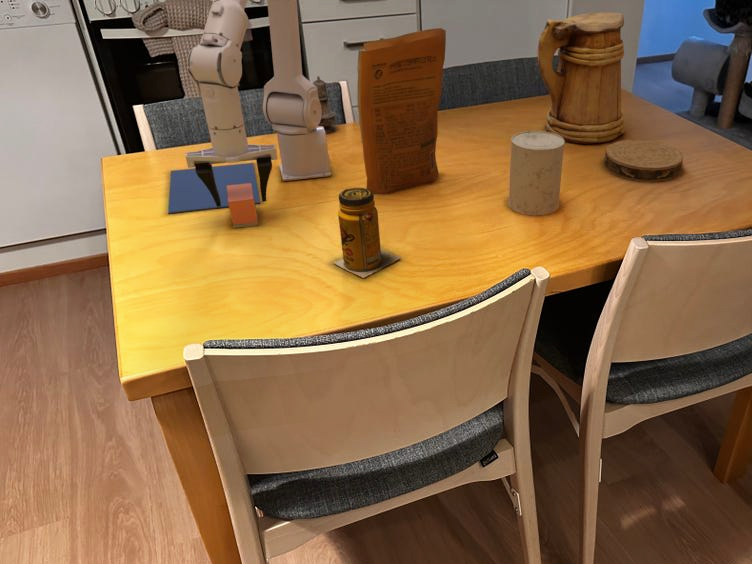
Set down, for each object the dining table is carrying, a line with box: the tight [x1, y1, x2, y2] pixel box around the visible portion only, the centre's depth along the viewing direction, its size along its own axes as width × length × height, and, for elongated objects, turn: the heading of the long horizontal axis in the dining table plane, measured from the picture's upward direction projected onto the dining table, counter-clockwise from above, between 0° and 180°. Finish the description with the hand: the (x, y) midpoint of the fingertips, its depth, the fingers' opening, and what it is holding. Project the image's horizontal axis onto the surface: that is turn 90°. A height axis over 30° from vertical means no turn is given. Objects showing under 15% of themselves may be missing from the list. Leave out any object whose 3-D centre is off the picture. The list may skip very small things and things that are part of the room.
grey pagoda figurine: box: [312, 75, 337, 134], centre depth 158 cm, size 6×6×12 cm
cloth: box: [167, 162, 261, 215], centre depth 134 cm, size 16×20×1 cm
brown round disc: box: [603, 139, 684, 183], centre depth 146 cm, size 16×16×3 cm
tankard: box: [537, 11, 626, 145], centre depth 155 cm, size 18×24×25 cm
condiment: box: [332, 187, 402, 279], centre depth 109 cm, size 7×8×12 cm
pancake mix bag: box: [356, 27, 447, 195], centre depth 129 cm, size 7×19×28 cm, turn 125°
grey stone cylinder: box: [507, 130, 566, 216], centre depth 127 cm, size 10×10×12 cm
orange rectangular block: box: [227, 183, 259, 229], centre depth 123 cm, size 4×7×5 cm, turn 18°
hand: (241, 201), depth 122 cm, fingers open, 7 cm apart
